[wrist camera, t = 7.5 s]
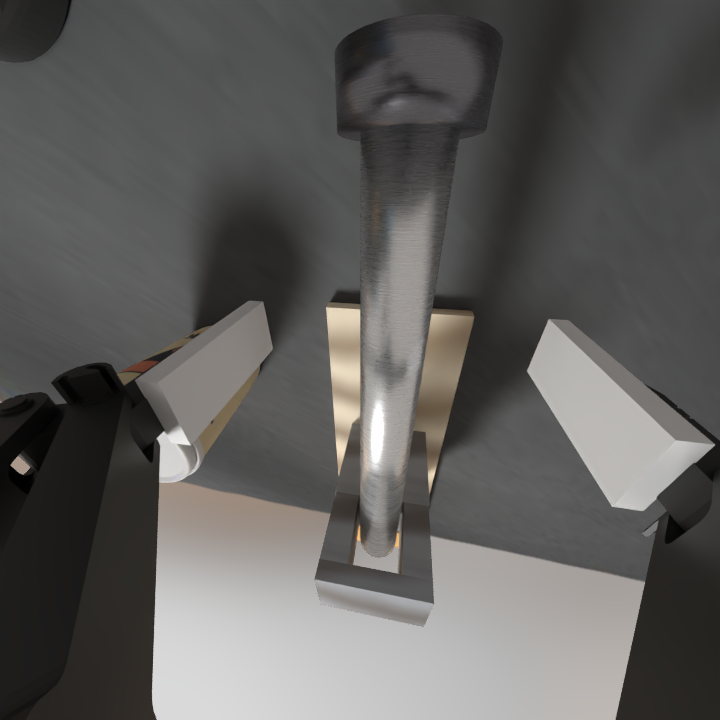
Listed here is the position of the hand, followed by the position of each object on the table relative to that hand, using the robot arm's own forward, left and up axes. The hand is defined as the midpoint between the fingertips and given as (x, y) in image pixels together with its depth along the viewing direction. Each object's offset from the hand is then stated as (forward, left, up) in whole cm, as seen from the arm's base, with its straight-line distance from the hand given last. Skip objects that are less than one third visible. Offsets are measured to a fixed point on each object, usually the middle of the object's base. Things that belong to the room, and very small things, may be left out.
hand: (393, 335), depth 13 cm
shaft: (+5, 0, -1) cm, 5 cm away
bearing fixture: (+18, 0, -10) cm, 21 cm away
